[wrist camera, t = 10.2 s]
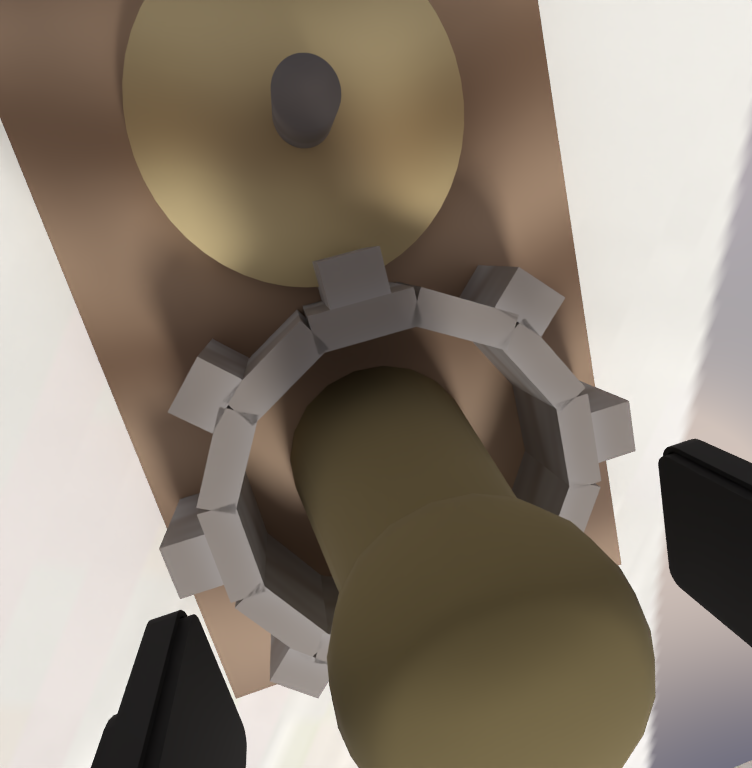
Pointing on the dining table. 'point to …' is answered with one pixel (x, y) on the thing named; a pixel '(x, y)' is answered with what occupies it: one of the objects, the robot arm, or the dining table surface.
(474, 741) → the cork
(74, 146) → the gear board
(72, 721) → the dining table surface
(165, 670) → the robot arm
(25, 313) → the dining table surface
